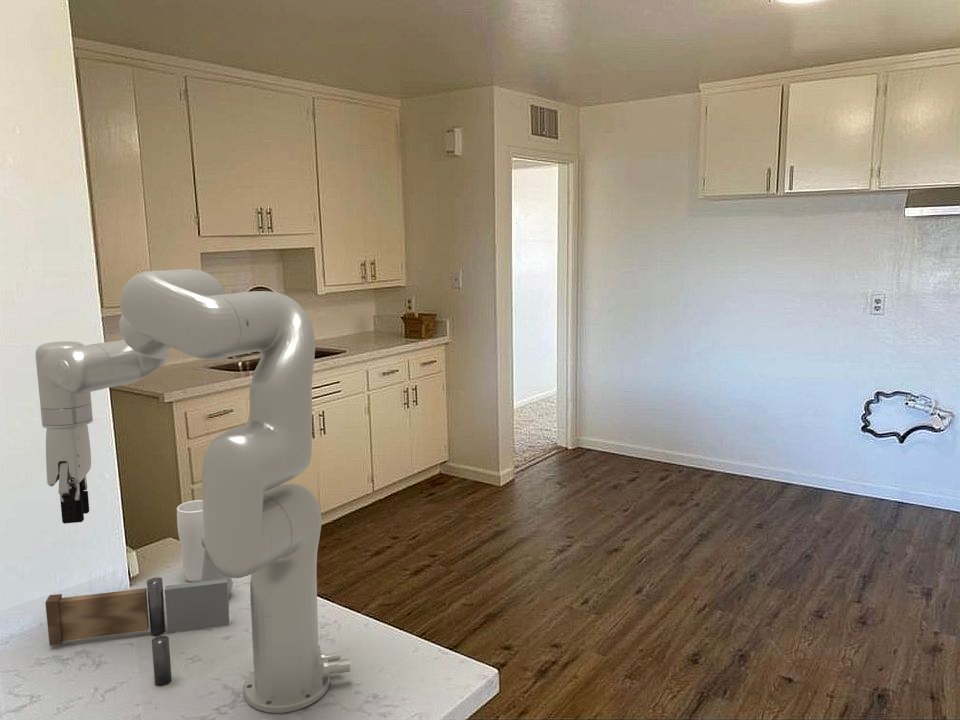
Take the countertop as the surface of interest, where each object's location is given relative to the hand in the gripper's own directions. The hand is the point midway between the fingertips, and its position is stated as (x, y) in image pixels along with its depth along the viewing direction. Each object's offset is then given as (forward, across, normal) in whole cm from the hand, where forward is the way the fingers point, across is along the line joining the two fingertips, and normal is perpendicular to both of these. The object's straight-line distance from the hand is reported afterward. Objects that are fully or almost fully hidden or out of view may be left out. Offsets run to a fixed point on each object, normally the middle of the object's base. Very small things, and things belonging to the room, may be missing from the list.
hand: (76, 516), depth 126 cm
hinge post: (+19, +8, +13) cm, 25 cm away
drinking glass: (+19, -12, +18) cm, 29 cm away
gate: (+18, +8, +4) cm, 20 cm away
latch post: (+19, +23, +16) cm, 34 cm away
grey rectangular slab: (+19, +8, +20) cm, 29 cm away
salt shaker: (+19, -2, +22) cm, 29 cm away
